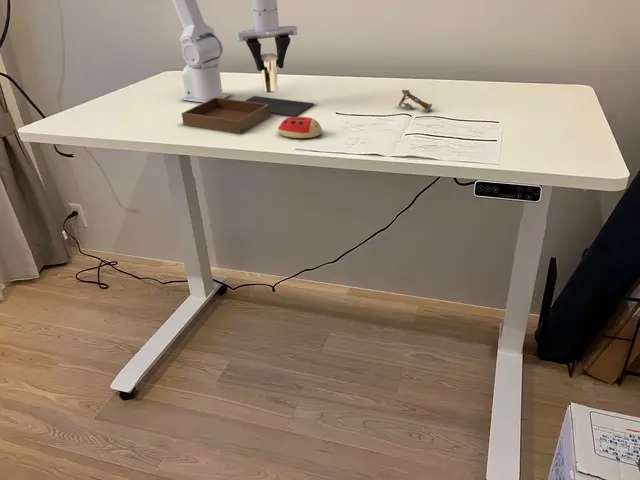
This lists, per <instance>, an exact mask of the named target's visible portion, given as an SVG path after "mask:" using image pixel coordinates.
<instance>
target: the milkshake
mask: <svg viewBox="0 0 640 480" xmlns="http://www.w3.org/2000/svg"><path fill="white" fill-rule="evenodd" d="M279 53H280V51H279ZM278 55H279V54H278ZM261 62H262V71H260V72H261V79H262V86H263V92H264V93H268V94H269V93H270V94H271V93H275V92H278V57H277V54H276V53H272V52H263V53H261Z"/></svg>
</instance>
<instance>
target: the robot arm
mask: <svg viewBox="0 0 640 480" xmlns="http://www.w3.org/2000/svg"><path fill="white" fill-rule="evenodd" d="M171 1H172V4H173V6H174V9H175V11H176V14H177V16H178V19H179V21H180V24H181V27H182V29H183V30H182V33H181V35H180V37H179V42H180V45H181V54H182V57H183V60H184V61H185V62H186V65H185V66H184V68H183V70H182V80H183V81H182V82H183V88H184V93H185V97H184V98H183V100H184V101H190V102H197V103H204V102H206V101H208V100H211V99H213V98H215V97H216V98H224V99H226V98H228V97H230V93H226V92H223V85H222V78H221V71H220V62H221V60H220V59H221V57H222V55H223V51H224V46H223V44H222V41H221V40H220V38H219V36H217V35H216V33H215V30H214V28H213V27H211V26H210V25H209V24H207V23H206V22H205V21H204V18H203V16H202V15H203V14H202V12H201V10H200V7H199V5H198V2H197V0H171ZM251 3H252V4H251V5H252V15H253V16H252V17H253V25H254V26H253V27H254V28H252V29H245V30H241V31H236V32H235V34H236V41H237V42H238V43H241V42H245V43H246V45H247V47H248V48H249V50H250V53H251V55H252V57H253V60H254V62H255V63H254V64H255V67H256V70H257V71H259V72H261V71H262V62H261V55H262V43H261V42H260V40H262V39H263V40H264V39H271V38H274V41H275V48H276V55H277V57H278V66H277V68H279V69H284V65H285V58H286V54H287V51H288V48H289V47H290V44H291V37H290V36H298V27H297V26H296V25H285V26H284V25H281V26H280V25H279V10H278V0H251ZM279 51H280V53H279ZM278 54H279V55H278Z"/></svg>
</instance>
